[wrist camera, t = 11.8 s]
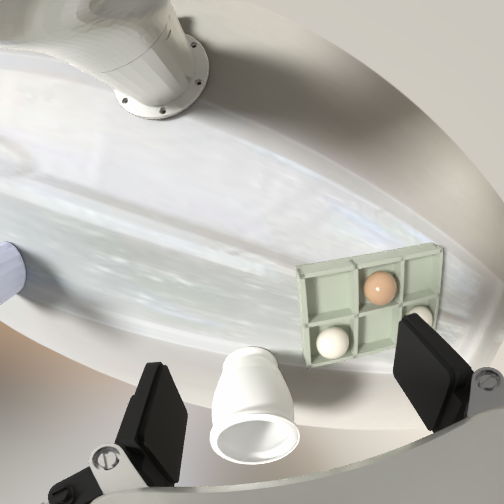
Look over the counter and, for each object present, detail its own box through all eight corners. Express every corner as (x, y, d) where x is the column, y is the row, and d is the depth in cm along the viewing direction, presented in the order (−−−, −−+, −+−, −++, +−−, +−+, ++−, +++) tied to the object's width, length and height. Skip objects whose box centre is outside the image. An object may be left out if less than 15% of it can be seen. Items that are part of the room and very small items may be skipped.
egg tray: (294, 266, 38) (299, 274, 35) (431, 242, 38) (443, 248, 35) (303, 356, 42) (307, 368, 39) (424, 325, 42) (433, 334, 39)
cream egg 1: (312, 323, 40) (319, 341, 35) (343, 317, 40) (354, 334, 35) (313, 350, 41) (320, 368, 37) (343, 343, 41) (353, 361, 37)
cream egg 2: (400, 304, 40) (414, 318, 35) (424, 298, 40) (439, 310, 35) (398, 330, 41) (411, 345, 36) (421, 323, 41) (435, 337, 36)
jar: (225, 332, 41) (219, 407, 26) (293, 346, 42) (314, 419, 27) (210, 385, 43) (202, 459, 29) (272, 396, 44) (282, 468, 30)
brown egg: (358, 269, 38) (371, 281, 33) (387, 263, 38) (403, 275, 33) (358, 299, 39) (371, 314, 35) (387, 293, 39) (401, 307, 35)
